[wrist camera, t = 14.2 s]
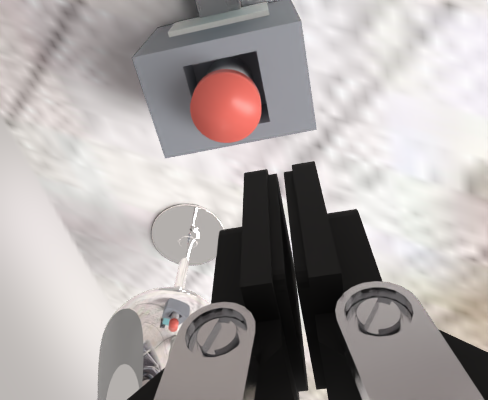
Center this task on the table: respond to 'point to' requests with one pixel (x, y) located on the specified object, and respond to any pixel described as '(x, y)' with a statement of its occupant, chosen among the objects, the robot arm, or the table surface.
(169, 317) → the wineglass
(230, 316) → the robot arm
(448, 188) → the table surface
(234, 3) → the rail
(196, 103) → the plunger
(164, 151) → the housing
